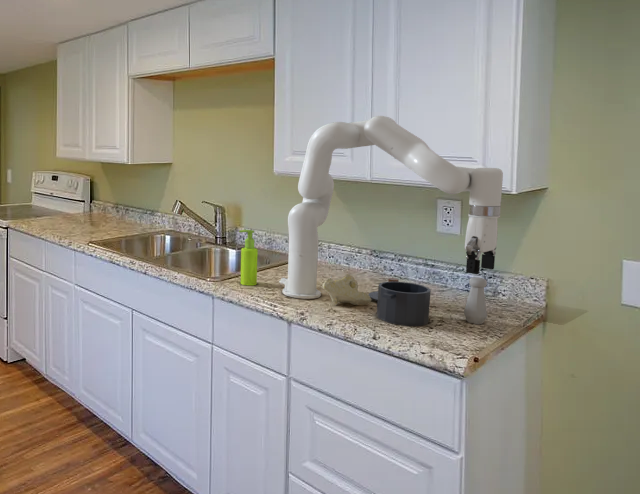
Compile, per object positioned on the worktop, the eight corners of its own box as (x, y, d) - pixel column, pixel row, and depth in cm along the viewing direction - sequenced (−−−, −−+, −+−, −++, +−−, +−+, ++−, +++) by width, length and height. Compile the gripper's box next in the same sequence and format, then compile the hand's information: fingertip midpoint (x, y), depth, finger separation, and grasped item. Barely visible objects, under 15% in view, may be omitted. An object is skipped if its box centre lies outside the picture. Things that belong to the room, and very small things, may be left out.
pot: (362, 318, 163) (364, 287, 161) (396, 307, 174) (398, 278, 172) (408, 331, 152) (410, 297, 150) (441, 318, 163) (443, 287, 161)
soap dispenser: (238, 280, 207) (240, 228, 205) (257, 282, 205) (259, 229, 202) (236, 284, 202) (238, 230, 199) (255, 286, 199) (257, 231, 197)
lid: (359, 299, 183) (360, 277, 182) (382, 292, 192) (384, 271, 191) (402, 309, 171) (404, 287, 170) (425, 301, 180) (427, 280, 179)
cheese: (361, 304, 183) (325, 273, 187) (376, 292, 179) (339, 261, 182) (347, 329, 173) (309, 296, 176) (363, 317, 168) (323, 283, 171)
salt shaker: (488, 321, 160) (492, 278, 158) (484, 326, 155) (488, 281, 154) (465, 317, 164) (468, 274, 162) (461, 322, 159) (464, 278, 158)
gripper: (482, 208, 163) (478, 264, 165) (455, 212, 153) (452, 272, 155) (511, 210, 157) (507, 269, 159) (485, 215, 147) (481, 277, 149)
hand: (480, 270), depth 157 cm, fingers open, 9 cm apart
